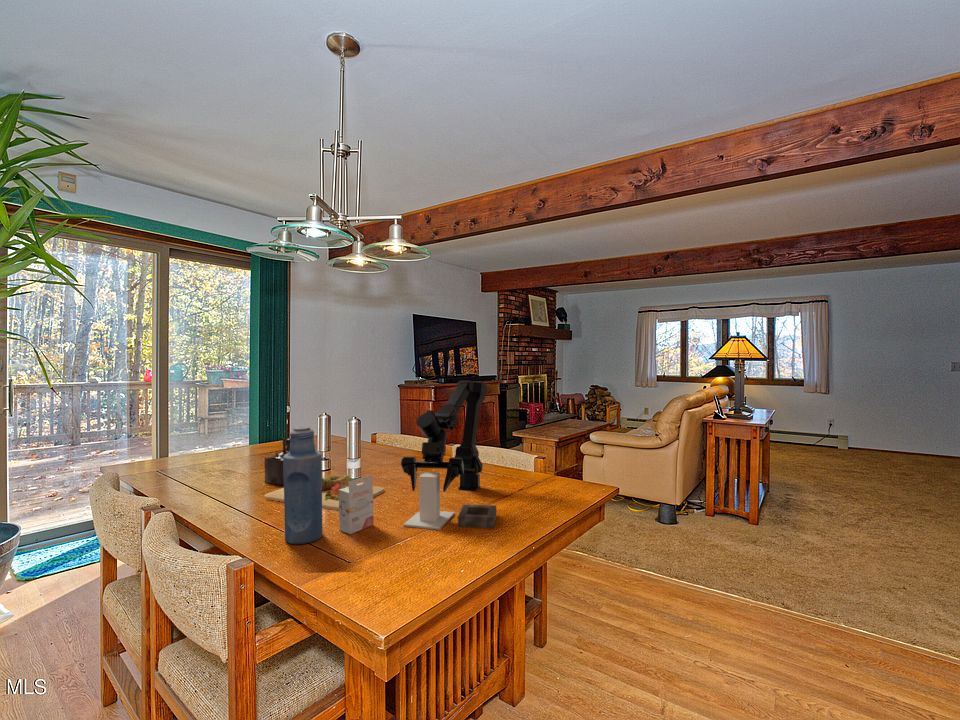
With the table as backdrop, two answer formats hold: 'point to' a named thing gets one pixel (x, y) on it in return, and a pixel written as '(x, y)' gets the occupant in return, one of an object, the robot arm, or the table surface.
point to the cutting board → (326, 491)
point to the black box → (276, 465)
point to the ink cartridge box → (356, 505)
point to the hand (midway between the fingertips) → (428, 490)
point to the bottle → (302, 488)
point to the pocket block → (477, 516)
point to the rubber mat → (434, 525)
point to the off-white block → (429, 496)
